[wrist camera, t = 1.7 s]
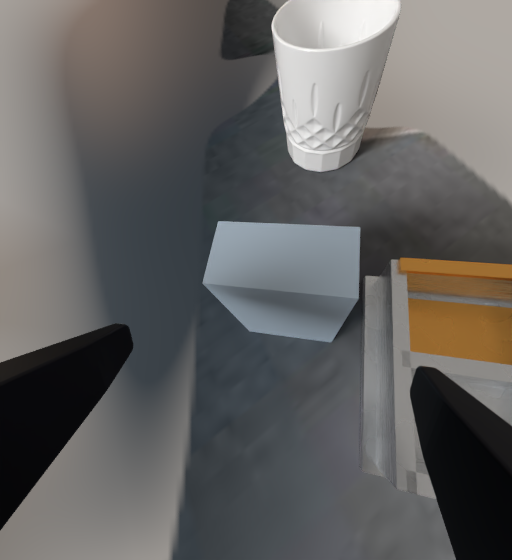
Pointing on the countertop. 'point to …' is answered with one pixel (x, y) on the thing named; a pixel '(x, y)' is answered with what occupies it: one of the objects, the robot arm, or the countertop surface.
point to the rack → (429, 353)
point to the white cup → (330, 74)
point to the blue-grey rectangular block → (286, 276)
